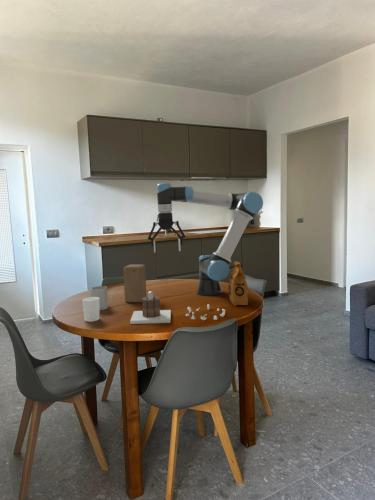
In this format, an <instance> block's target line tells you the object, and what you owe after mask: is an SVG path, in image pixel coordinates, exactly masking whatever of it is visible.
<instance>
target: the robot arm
mask: <svg viewBox="0 0 375 500" xmlns="http://www.w3.org/2000/svg"><path fill="white" fill-rule="evenodd" d="M156 196H157V197H156V198H157V212H158V214H157V215H158V222H156V221H154V222H153V223H152V227H151V230H150V233H149V235H148V237H147V240H149V241H151V247H153V252H154V254H155V253H156V240H155V239H156V237H158V235H159V233H160V232H161V230H163V231H167V230H172V232H173V233H174V234H175V235H176V236H177V237H178V239H177V240H178V251H179V252H181V251H182V250H181V249H182V248H181V246H182V245H183V239H185V238H186V235H185V232H184V231H183V230H182V228H181V226H180V223H179V221H178V220H176V221H173V213H172V212H173V205H172V203H173V202H177V203H178V202H179V203H180V202H181V203H188V204H189V203H190V204H196V205H197V204H199V205H204V206H205V205H206V206H214V207H220V208H221V207H222V208H226V209H227V210H229V211H234V213H235V214H234V216H233V218H232V220H231V222H230V224H229V226H228V228H227V230H226V231H225V234H224V236H223V238H222V240H221V241H220V243H219V246H218V248H217V250H216V251H214V252H212V254H207V255H204V254H203V255H200V256H199V257H198V265H199V267H198V268H199V269H198V270H199V271H198V272H199V280H198V281H199V282H198V284H197V289H196V294H198V295H201V296H216V295H217V296H218V295H221V294H222V293H223V288H222V286H221V281H223V280H225V279H226V278H227V277H228V276H229V275H230V265H231V264H232V259H231V257H232V255H233V253H234V251H235V250H236V247H237V246H238V243H239V242H240V240H241V238H242V236H243V234H244V232H245V230H246V228H247V226H248V224H249V222H250V221H252V220H253V219H255V216H256V214H257V213H258V212H260V211H261V210H262V209H263V206H264V200H263V197H262V196H261V194H260V193H258V192H256V191H247V192H241V193H232V192H229V193H228V194H226V193H218V192H210V191H202V190H195V189H193V187H192V186H188V185H186V186H172V184H171V183H170V182H169V183H168V182H167V183H166V182H165V183H163V182H161V183H158V184H157V186H156ZM173 225H175V226H176V227H177V228H178V230H179V232H180V233H178V232H177V230H176V229H174V227H173ZM157 226H159V228H158V229H157V231H156V232H155V233H154V231H155V228H156V227H157ZM153 233H154V234H153ZM180 234H181V235H180ZM152 235H153V236H152Z"/></svg>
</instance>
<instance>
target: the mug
mask: <svg viewBox="0 0 375 500" xmlns="http://www.w3.org/2000/svg"><path fill="white" fill-rule="evenodd" d="M90 297H98V298H100V311H104V310H107V309H109V299H108V287H107V286H101V285H100V286H99V285H98V286H93V287H91V288H90Z"/></svg>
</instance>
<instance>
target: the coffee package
mask: <svg viewBox="0 0 375 500" xmlns="http://www.w3.org/2000/svg"><path fill="white" fill-rule="evenodd" d="M233 265H234V267H233V268H232V270H231V272H229V280H228V296H229V297H228V298H229V301H230V303H232V305H233V306H234V307H236V306H237V305H243V306H242V307H244V305H247V306H248V304H249V303H248V302H249V288H248V283H247V280H246V276H245V273H244V271H243V268H242V266H241V262H240V261H237V260H235V261H233Z"/></svg>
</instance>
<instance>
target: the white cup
mask: <svg viewBox="0 0 375 500" xmlns="http://www.w3.org/2000/svg"><path fill="white" fill-rule="evenodd" d="M81 301H82V310H83V317H84V321H85V322H96V321H99V320H100V311H101V310H100V298H98V297H91V296H90V297H89V296H88V297H84V298H82V300H81Z"/></svg>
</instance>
